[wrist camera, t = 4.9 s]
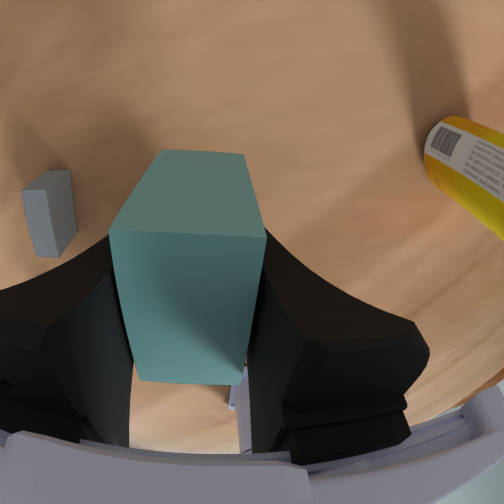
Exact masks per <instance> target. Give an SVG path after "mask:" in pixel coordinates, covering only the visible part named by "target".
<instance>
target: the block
mask: <svg viewBox="0 0 504 504" xmlns="http://www.w3.org/2000/svg"><path fill="white" fill-rule="evenodd" d="M108 232H109V239H110V247H111V253H112V260H113V266H114V272H115V278H116V284H117V289H118V294H119V299H120V304H121V309H122V314H123V318H124V322H125V327H126V331H127V335H128V339H129V343H130V347H131V351H132V355H133V359H134V362H135V366H136V369H137V373H138V376H139V380H143V381H154V382H166V383H182V384H204V385H241V380H242V375H243V370H244V364H245V359H246V353H247V348H248V342H249V337H250V331H251V326H252V320H253V315H254V309H255V304H256V298H257V292H258V287H259V281H260V275H261V270H262V264H263V258H264V252H265V247H266V241H267V236H266V232H265V228H264V225H263V221H262V218H261V214H260V210H259V207H258V203H257V200H256V196H255V192H254V189H253V185H252V182H251V178H250V175H249V171H248V168H247V164H246V161H245V157H244V154H236V153H223V152H208V151H188V150H161V151H160V153H159V154H158V155H157V157H156V158H155V159H154V161H153V162H152V164H151V165H150V166H149V168H148V169H147V171H146V172H145V174H144V175H143V176H142V178H141V179H140V181H139V182H138V184H137V185H136V187H135V188H134V190H133V191H132V193H131V194H130V196H129V197H128V199H127V200H126V202H125V204H124V205H123V207H122V208H121V210H120V211H119V213H118V215H117V216H116V218H115V219H114V221H113V223H112V224H111V226H110V228H109V229H108Z"/></svg>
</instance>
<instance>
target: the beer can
mask: <svg viewBox="0 0 504 504" xmlns="http://www.w3.org/2000/svg"><path fill="white" fill-rule="evenodd" d="M424 163H425V169H426V173H427V175H428V178H429V179H430V181H431V182H432V183H433V184H434V185H435V186H436V187H437V188H439V189H440V190H441V191H443V192H444V193H445V194H447V195H448V196H449V197H451V198H452V199H453V200H455V201H456V202H457V203H459V204H460V205H461V206H462V207H464V208H465V209H466V210H468V211H469V212H470V213H471V214H472V215H474V216H475V217H476V218H477V219H479V220H480V221H481V222H482V223H483V224H485V225H486V226H487V227H488V228H489V229H490V230H491V231H493V232H494V233H495V234H496V235H497V236H498V237H499V238H500V239H502V240H503V241H504V134H502V133H500V132H498V131H496V130H493V129H491V128H488V127H486V126H484V125H481V124H479V123H476V122H474V121H471V120H468V119H466V118H463V117H460V116H449V117H446V118H444V119H443V120H441V121H440V122H439V123H438V124H437V125H435V126H434V127H433V128H432V130H431V131H430V133H429V134H428V136H427V139H426V142H425V146H424Z"/></svg>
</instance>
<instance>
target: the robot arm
mask: <svg viewBox="0 0 504 504" xmlns="http://www.w3.org/2000/svg"><path fill="white" fill-rule="evenodd" d="M264 228H265V227H264ZM265 232H266V236H267V241H266V247H265V252H264V258H263V264H262V270H261V275H260V281H259V287H258V292H257V298H256V304H255V309H254V315H253V320H252V326H251V331H250V337H249V342H248V348H247V353H246V355H247V366H244V370H243V375H242V380H241V385H231V389H230V396H229V402H228V409H231V410H236V413H237V425H238V436H239V447H240V454H188V453H172V452H160V451H150V450H141V449H134V448H129V413H130V395H131V383H132V373H133V364H134V359H133V355H132V351H131V347H130V343H129V339H128V335H127V331H126V327H125V322H124V318H123V314H122V309H121V304H120V299H119V294H118V289H117V284H116V278H115V272H114V266H113V260H112V253H111V247H110V239H109V235H107V236H106V237H105V238H103V239H102V240H100V241H99V242H97V243H96V244H94V245H93V246H91V247H90V248H88V249H87V250H86V251H84V252H82V253H81V254H79V255H78V256H76V257H74V258H72V259H71V260H69V261H67V262H65V263H64V264H62V265H60V266H58V267H56V268H54V269H52V270H49V271H47V272H45V273H43V274H41V275H39V276H37V277H35V278H32V279H30V280H27V281H25V282H22V283H20V284H17V285H14V286H12V287H9V288H6V289H3V290H0V504H433V503H435V502H437V501H439V500H440V499H442V498H444V497H446V496H448V495H449V494H451V493H453V492H454V491H456V490H458V489H460V488H461V487H463V486H464V485H466V484H468V483H469V482H471V481H472V480H474V479H475V478H477V477H478V476H480V475H481V474H483V473H484V472H485V471H487V470H488V469H490V468H491V467H493V466H494V465H495V464H497V463H498V462H499V461H501V460H502V459H503V458H504V396H503V394H502V392H501V390H500V388H499V387H498V385H494V386H492V387H490V388H487V389H485V390H483V391H480V392H479V393H477V394H475V395H474V396H472V397H471V398H470V399H469V400H468V401H467V402H466V403H465V404H464V405H463V406H462V407H461V409H459V410H457V411H454V412H451V413H449V414H446V415H443V416H441V417H438V418H435V419H432V420H429V421H426V422H423V423H420V424H417V425H414V426H410V427H409V425H408V423H407V420H406V418H405V415H404V413H403V410H405V409H406V408H407V402H406V400H405V397H404V394H405V393H406V391H407V390H408V389H409V388H410V387H411V386H412V384H413V383H414V382H415V381H416V380H417V378H418V377H419V376H420V375H421V373H422V372H423V370H424V369H425V367H426V365H427V362H428V359H429V356H430V351H429V347H428V345H427V344H426V342H425V340H424V338H423V337H422V335H421V333H420V331H419V330H418V328H417V326H416V325H415V323H414V322H413V321H410V320H407V319H405V318H402V317H399V316H396V315H394V314H391V313H388V312H385V311H383V310H380V309H378V308H376V307H374V306H372V305H369V304H367V303H365V302H363V301H361V300H359V299H357V298H355V297H353V296H351V295H349V294H347V293H346V292H344V291H342V290H340V289H339V288H337V287H335V286H333V285H332V284H330V283H329V282H327V281H326V280H324V279H323V278H321V277H320V276H318V275H317V274H316V273H314V272H313V271H311V270H310V269H309V268H307V267H306V266H305V265H304V264H302V263H301V262H300V261H299V260H298V259H297V258H295V257H294V256H293V255H292V254H291V253H290V252H289V251H288V250H287V249H285V248H284V247H283V246H282V245H281V244H280V243H279V242H278V241H277V240H276V239H275V238H274V237H273V236H272V234H271V233H270V232H269V231H268V230H267V229H266V228H265Z"/></svg>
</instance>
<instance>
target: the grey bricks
mask: <svg viewBox="0 0 504 504" xmlns="http://www.w3.org/2000/svg"><path fill="white" fill-rule="evenodd" d="M21 192H22V198H23V203H24V209H25V214H26V218H27V223H28V227H29V231H30V236H31V240H32V243H33V247H34V251H35V255H36V256H40V257H53V258H60V256H61V255H62V253H63V252H64V250H65V249H66V247H67V246H68V244H69V243H70V241H71V240H72V238H73V237H74V236H75V234H76V233H77V231H78V229H77V223H76V217H75V210H74V202H73V195H72V186H71V176H70V170H49V171H46V172H44V173H43V174H42V175H40V176H39V177H38V178H36V179H35V180H34V181H32V182H31V183H30V184H29V185H27V186H26V187H25V188H24V189H22V190H21Z"/></svg>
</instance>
